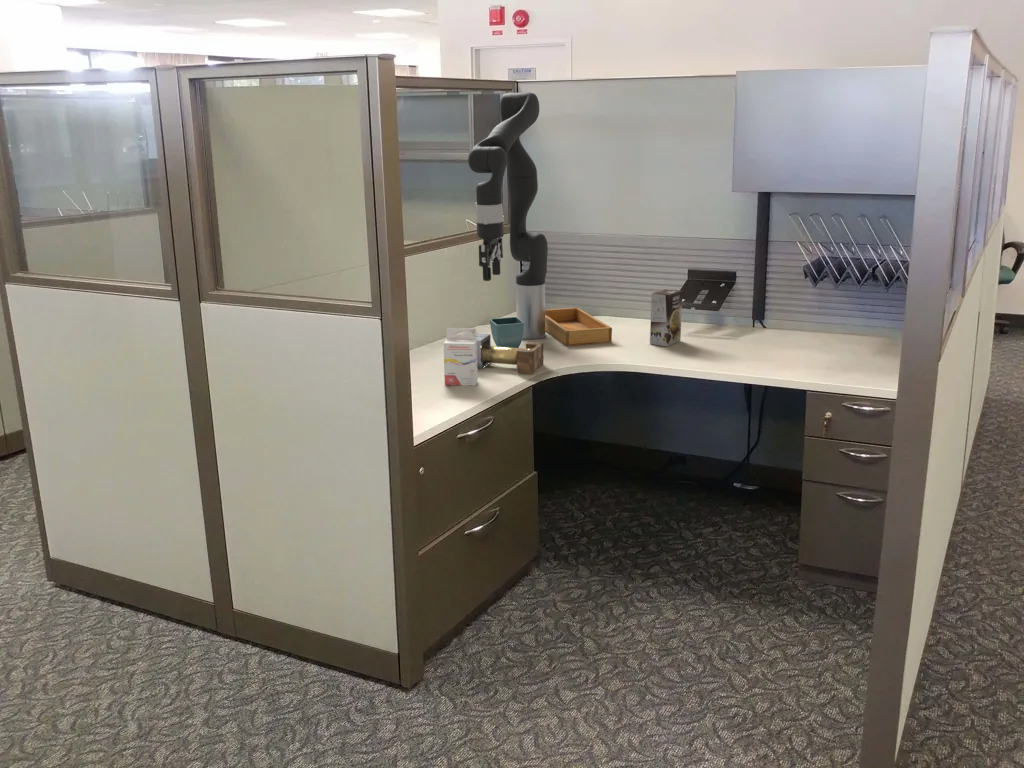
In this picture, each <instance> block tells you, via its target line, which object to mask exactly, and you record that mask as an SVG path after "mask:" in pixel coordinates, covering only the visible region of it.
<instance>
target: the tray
mask: <svg viewBox="0 0 1024 768" xmlns="http://www.w3.org/2000/svg"><path fill="white" fill-rule="evenodd" d="M546 332H547V334H549V335H550V336H552V337H553V338H554V339H556V340H557V341H559V342H560V343H561V344H562V345H564V346H565V347H575V346H576V347H577V346H586V345H600V344H609V343H612V340H613V339H612V338H613V337H612V336H613V335H612V334H613V327H611V326H609V325H608V324H606V323H605V322H603V321H602V320H600V319H598V318H596V317H594V316H593V315H591V313H588V312H586V311H585V310H583V309H581V308H579V307H565V308H563V307H562V308H551V309H545V333H546Z"/></svg>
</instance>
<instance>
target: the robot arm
mask: <svg viewBox="0 0 1024 768" xmlns="http://www.w3.org/2000/svg"><path fill="white" fill-rule="evenodd" d="M499 102H500V103H499V112H500V121H501V122H499V124H497V125H496V126H495V127H494V128H492V129H491V131H490V133H489V134H488V136H487V137H486V138H483V140H481V141H480V142H478V143H476V144H475V145H474V146H473V147H472V148H471V149H470V152H469V154H468V158H467V163H468V166H469V169H470V170H471V171H472V172H474V173H477V174H491V177H490V179H489V180H486V181H482V182H478V183H477V185H476V188H475V191H476V192H475V193H476V195H475V196H476V197H475V198H476V212H475V214H476V215H475V217H476V220H475V221H476V237H477V239H482V240H483V241H482V244H479V245H478V265H479V267H481V268H482V279H483V281H484V282H490V281H491V280H492V275H494V276H500V275H501V262H502V259H503V257H504V251H503V237H504V228H505V227H504V226H505V225H504V209H503V200H502V199H503V197H502V195H503V193H502V189H503V187H502V186H503V183H504V177H505V172H506V179H507V180H506V181H507V182H506V183H507V190H508V198H509V199H508V200H509V201H508V203H509V248H510V254H511V257H512V258H513V260H515V261H517V262H524V263H529V266H528V269H527V270H525V271H524V272H523V271H522V272H519V273H518V274H516V277H515V284H516V285H515V286H516V287H515V289H516V293H515V294H516V295H515V296H516V297H515V298H516V299H515V300H516V317H517V318H519V319H520V320H521V321H523V322H524V330H523V338H522V340H523V339H525V340H526V339H527V340H537V339H542V338H545V337H546V331H545V310H546V276H547V271H548V255H549V254H548V253H549V251H548V249H549V247H548V245H549V244H548V239H547V237H546V236H545V234H543V233H540V232H527V216H528V213H529V210H530V208H531V206H532V204H533V202H534V200H535V199H536V196H537V193H538V190H539V187H538V183H539V182H538V170H537V166H536V164H535V162H534V160H533V159H532V158H531V156H530V154H529V153H528V152H527V150H526V149H525V148H524V146H523V144H522V142H521V140H520V137H521V135H523V134H524V133H525V132H526V131H527V130H528V129H530V128H531V127H532V125H534V123H535V122H537V120H538V118H539V115H540V101H539V99H538V95H536V94H535V93H533V92H527V91H526V92H524V91H523V92H509V93H508V92H507V93H504V94H502V96H501V98H500V101H499Z"/></svg>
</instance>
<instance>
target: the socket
mask: <svg viewBox="0 0 1024 768" xmlns="http://www.w3.org/2000/svg"><path fill="white" fill-rule="evenodd" d="M525 348H526V349H528V348H532V350H523V349H519V350H517V365H516V374H517V375H518V374H519V375H527V376H528V375H530V376H531V375H534V374H535V373H536V372H538V370H540V369H541V368H542V367H543V366H544V342H533V341H532V342H531V341H530V342H529V341H528V342H526V343H525Z"/></svg>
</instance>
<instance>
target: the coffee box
mask: <svg viewBox="0 0 1024 768" xmlns="http://www.w3.org/2000/svg"><path fill="white" fill-rule="evenodd" d="M683 292H684V291H683V290H678V289H666V288H665V289H662V290H661V289H660V290H658V291H655V292H651V301H650V302H651V304H650V305H651V306H650V308H651V309H650V329H649V330H650V332H649V344H650V345H655V346H660V347H661V346H662V347H669V346H671V345H675V344H676V343H678V342H681V341H682V340H681V339H682V338H681V336H682V335H681V334H682V333H681V332H682V315H683V314H682V310H683V309H682V308H683Z"/></svg>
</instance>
